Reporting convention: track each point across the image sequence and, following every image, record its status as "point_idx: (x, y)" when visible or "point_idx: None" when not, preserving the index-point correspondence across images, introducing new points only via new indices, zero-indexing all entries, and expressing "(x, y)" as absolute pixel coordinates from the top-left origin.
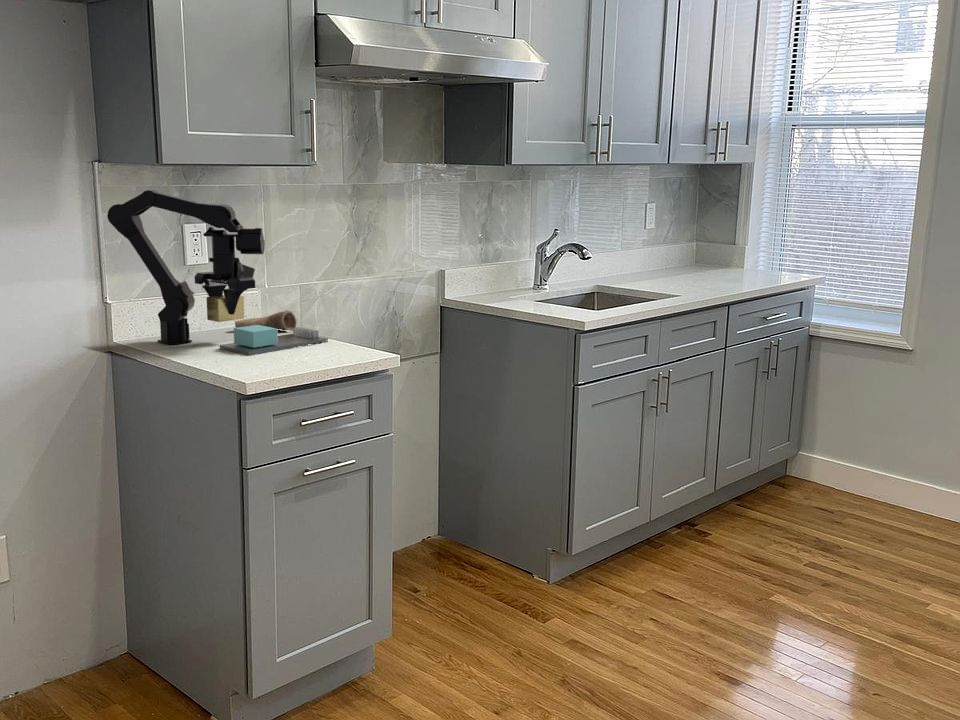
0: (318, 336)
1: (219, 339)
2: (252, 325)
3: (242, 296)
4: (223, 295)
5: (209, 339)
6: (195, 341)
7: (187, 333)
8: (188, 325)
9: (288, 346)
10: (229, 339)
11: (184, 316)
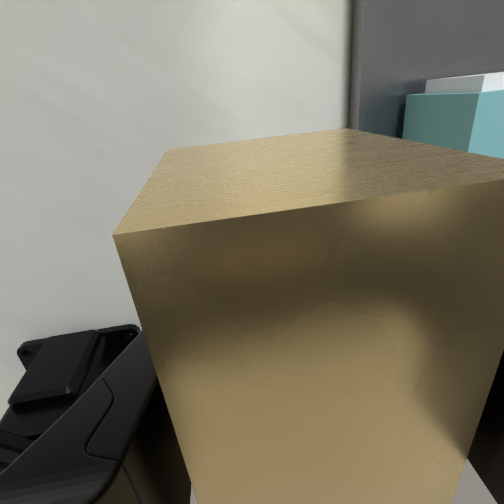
0: None
1: (122, 187)
2: (471, 147)
3: None
4: (211, 425)
5: (94, 229)
6: (116, 301)
7: (102, 359)
8: (77, 384)
9: None
10: (152, 140)
11: (27, 444)
